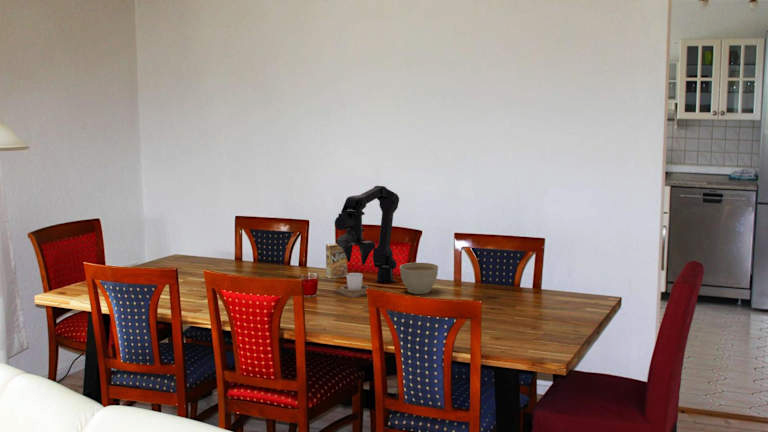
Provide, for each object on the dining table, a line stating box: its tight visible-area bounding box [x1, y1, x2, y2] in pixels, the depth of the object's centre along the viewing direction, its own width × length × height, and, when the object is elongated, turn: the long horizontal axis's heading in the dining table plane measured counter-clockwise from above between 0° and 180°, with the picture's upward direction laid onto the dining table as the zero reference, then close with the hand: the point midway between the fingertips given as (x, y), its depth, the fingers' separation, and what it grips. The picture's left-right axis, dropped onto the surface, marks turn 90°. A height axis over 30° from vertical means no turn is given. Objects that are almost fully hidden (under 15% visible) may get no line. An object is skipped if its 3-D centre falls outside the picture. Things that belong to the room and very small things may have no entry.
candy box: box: [325, 242, 348, 279], centre depth 371 cm, size 9×4×15 cm, turn 118°
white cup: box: [346, 272, 363, 290], centre depth 341 cm, size 7×7×7 cm
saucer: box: [334, 283, 370, 299], centre depth 342 cm, size 12×12×2 cm
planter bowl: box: [399, 262, 439, 295], centre depth 343 cm, size 16×16×11 cm
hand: (356, 263), depth 344 cm, fingers open, 9 cm apart
